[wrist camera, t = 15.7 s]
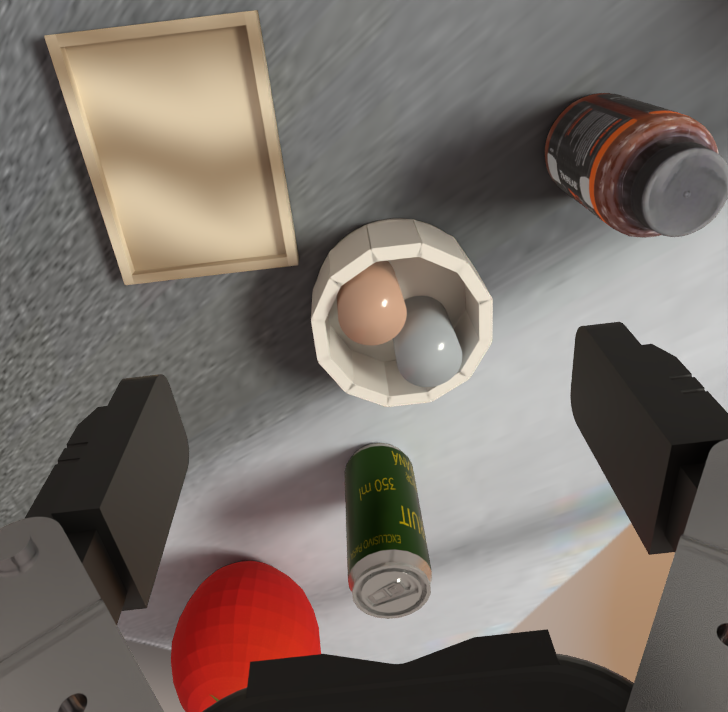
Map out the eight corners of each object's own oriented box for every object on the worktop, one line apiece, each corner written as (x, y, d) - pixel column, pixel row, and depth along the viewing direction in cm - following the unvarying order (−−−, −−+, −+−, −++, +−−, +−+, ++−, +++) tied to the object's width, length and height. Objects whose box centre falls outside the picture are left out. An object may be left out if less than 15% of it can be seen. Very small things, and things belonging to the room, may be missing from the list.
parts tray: (53, 34, 32) (44, 35, 31) (257, 10, 32) (255, 10, 31) (130, 277, 39) (125, 285, 38) (298, 258, 39) (298, 265, 38)
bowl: (303, 228, 38) (300, 256, 34) (474, 208, 38) (492, 234, 34) (326, 373, 44) (326, 414, 39) (476, 356, 44) (492, 394, 39)
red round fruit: (173, 599, 55) (134, 749, 44) (213, 517, 50) (180, 662, 39) (290, 629, 58) (281, 778, 46) (338, 555, 53) (340, 700, 42)
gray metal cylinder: (387, 299, 40) (394, 335, 36) (446, 291, 40) (460, 326, 36) (392, 351, 42) (400, 390, 38) (449, 344, 42) (463, 382, 38)
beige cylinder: (333, 254, 39) (336, 285, 34) (396, 251, 39) (406, 281, 34) (337, 311, 41) (339, 347, 36) (396, 308, 41) (406, 343, 36)
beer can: (367, 502, 50) (377, 631, 40) (331, 459, 48) (331, 585, 37) (424, 473, 49) (449, 599, 38) (389, 428, 46) (407, 549, 36)
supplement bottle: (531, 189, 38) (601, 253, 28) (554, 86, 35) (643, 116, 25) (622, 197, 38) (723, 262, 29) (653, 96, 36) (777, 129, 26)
